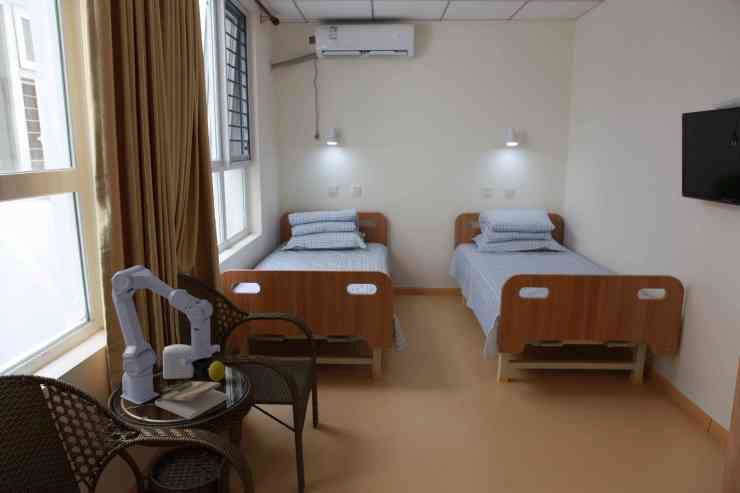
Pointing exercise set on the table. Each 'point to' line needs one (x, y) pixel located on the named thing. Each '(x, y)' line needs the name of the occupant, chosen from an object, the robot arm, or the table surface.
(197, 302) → the robot arm
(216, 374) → the lemon
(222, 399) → the light grey square plate
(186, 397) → the board
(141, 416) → the table surface
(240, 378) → the table surface
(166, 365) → the photo printer
